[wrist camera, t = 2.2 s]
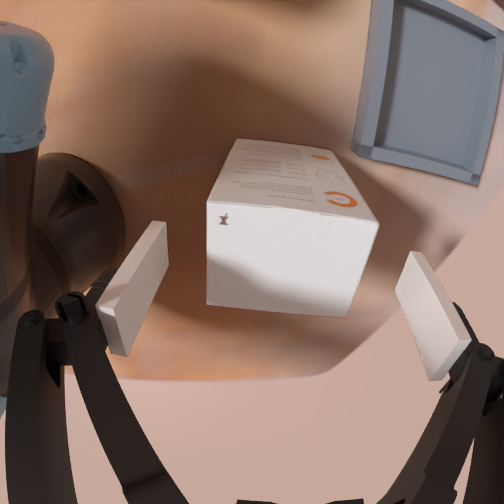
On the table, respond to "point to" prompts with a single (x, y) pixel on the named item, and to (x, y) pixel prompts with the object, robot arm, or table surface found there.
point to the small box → (286, 231)
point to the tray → (429, 87)
